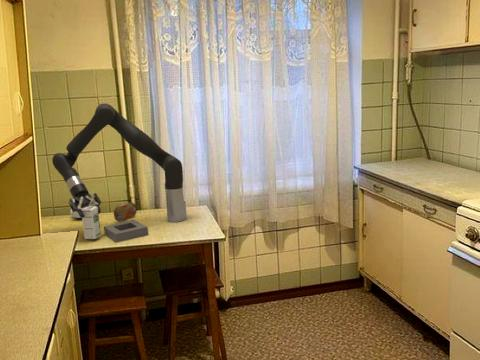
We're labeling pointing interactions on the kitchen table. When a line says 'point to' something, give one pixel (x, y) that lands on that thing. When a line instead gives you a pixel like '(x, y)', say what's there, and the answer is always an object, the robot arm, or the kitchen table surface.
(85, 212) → the syrup box
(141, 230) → the gray square frame
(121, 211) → the brown lumpy slab
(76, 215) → the spread jar
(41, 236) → the kitchen table surface
